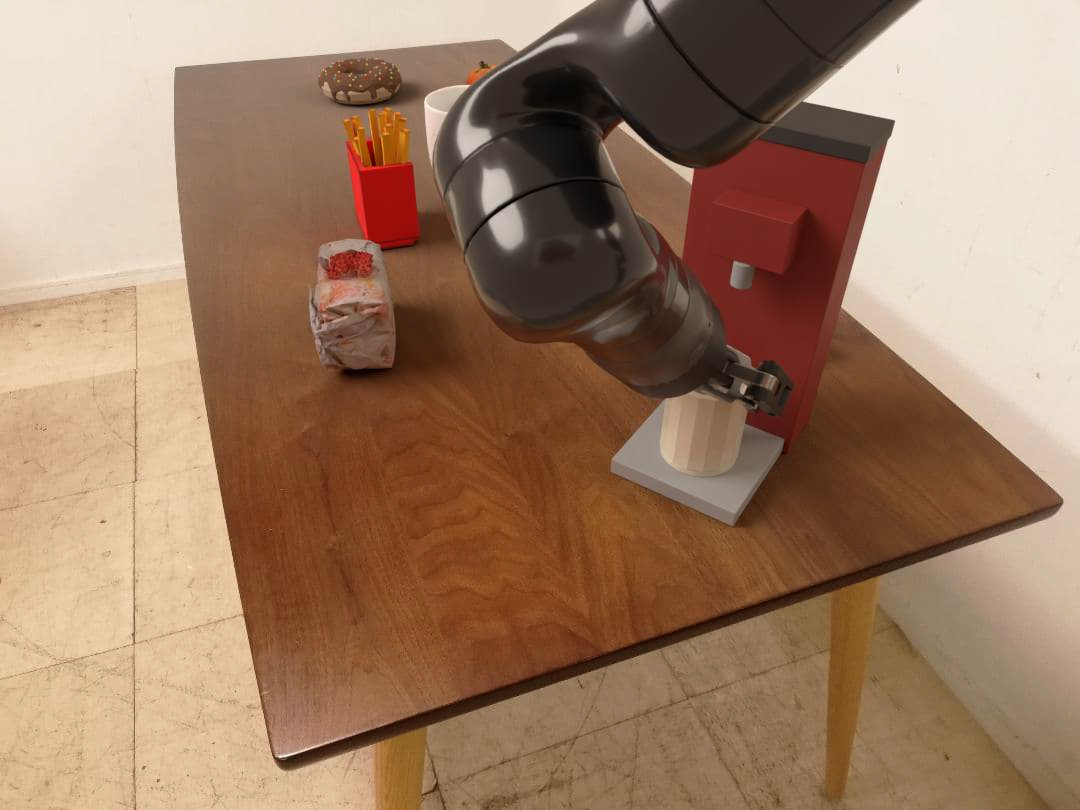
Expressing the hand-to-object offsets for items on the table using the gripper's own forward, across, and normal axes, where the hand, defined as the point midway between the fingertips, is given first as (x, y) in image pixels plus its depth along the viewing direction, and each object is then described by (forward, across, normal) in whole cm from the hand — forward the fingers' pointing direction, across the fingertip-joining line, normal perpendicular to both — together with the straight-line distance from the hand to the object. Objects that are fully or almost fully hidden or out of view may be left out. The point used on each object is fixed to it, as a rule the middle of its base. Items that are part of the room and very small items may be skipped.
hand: (705, 380), depth 62 cm
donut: (+44, +87, -31) cm, 103 cm away
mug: (+30, +48, -16) cm, 59 cm away
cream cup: (+7, 0, +5) cm, 8 cm away
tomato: (+54, +71, -40) cm, 98 cm away
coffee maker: (+10, 0, +4) cm, 11 cm away
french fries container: (+20, +50, -6) cm, 54 cm away
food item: (+6, +36, +8) cm, 38 cm away
